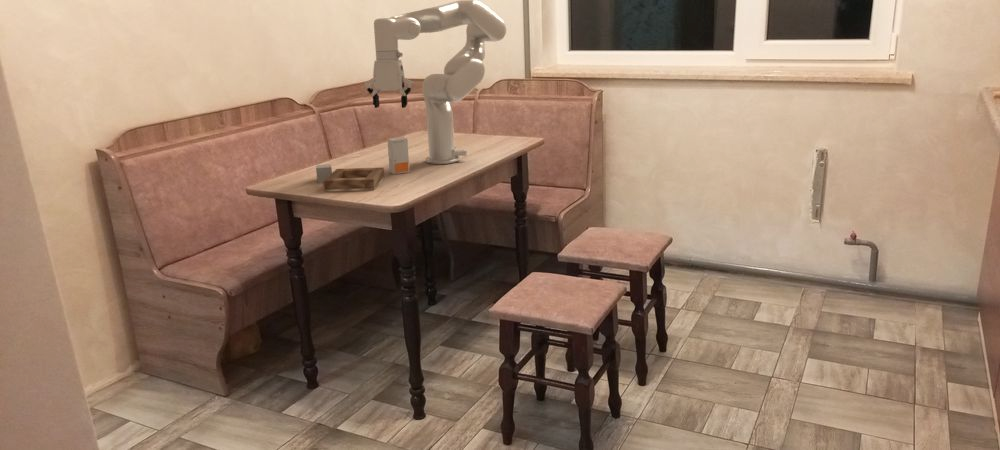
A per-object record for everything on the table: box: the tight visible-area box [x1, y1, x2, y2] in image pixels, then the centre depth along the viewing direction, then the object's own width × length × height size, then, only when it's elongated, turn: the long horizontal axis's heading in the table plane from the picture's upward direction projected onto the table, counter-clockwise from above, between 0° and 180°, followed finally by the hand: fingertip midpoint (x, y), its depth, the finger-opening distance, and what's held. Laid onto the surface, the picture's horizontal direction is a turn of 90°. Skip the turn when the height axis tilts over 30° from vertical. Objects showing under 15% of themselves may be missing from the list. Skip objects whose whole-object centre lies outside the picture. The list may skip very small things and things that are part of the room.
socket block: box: [323, 167, 385, 192], centre depth 250 cm, size 16×17×4 cm
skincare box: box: [387, 136, 410, 175], centre depth 263 cm, size 6×4×12 cm
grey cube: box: [315, 163, 333, 184], centre depth 257 cm, size 5×5×5 cm
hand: (390, 107), depth 260 cm, fingers open, 9 cm apart
